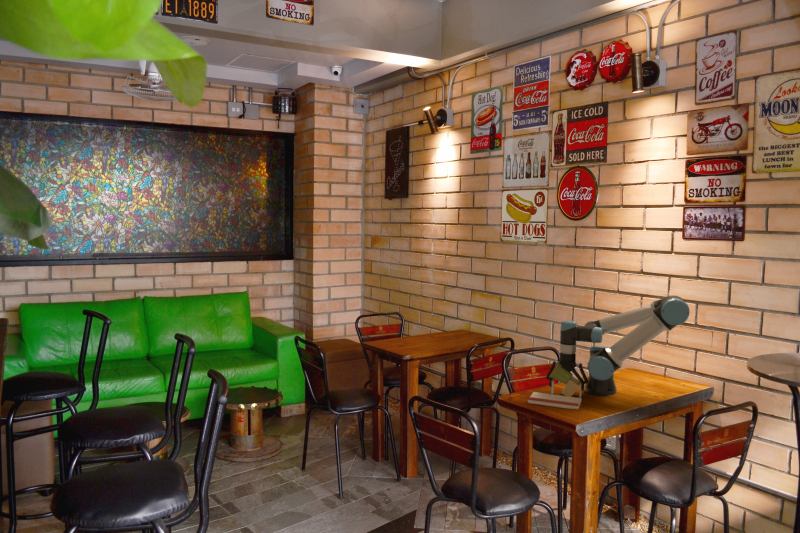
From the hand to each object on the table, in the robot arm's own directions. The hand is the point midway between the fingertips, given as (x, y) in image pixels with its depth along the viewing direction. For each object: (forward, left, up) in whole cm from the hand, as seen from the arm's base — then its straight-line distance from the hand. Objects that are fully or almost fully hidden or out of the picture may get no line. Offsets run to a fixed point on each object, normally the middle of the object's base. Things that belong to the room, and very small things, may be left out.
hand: (566, 395), depth 292 cm
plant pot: (-1, 0, +8) cm, 8 cm away
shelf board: (+4, +12, 0) cm, 13 cm away
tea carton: (0, 0, +1) cm, 1 cm away
